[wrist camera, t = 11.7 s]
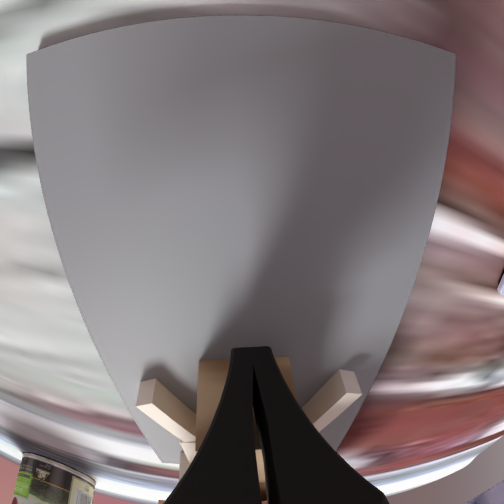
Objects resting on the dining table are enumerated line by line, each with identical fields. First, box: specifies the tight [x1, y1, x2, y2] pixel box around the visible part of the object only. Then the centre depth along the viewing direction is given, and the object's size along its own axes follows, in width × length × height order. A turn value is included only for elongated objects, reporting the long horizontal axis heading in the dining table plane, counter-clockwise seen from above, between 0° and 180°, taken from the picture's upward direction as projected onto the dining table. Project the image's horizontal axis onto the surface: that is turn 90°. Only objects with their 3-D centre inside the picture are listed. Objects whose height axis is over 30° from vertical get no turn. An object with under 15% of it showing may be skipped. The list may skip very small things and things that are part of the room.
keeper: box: [26, 15, 456, 504], centre depth 11 cm, size 14×27×7 cm, turn 0°
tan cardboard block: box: [195, 356, 298, 501], centre depth 14 cm, size 4×10×4 cm, turn 0°
